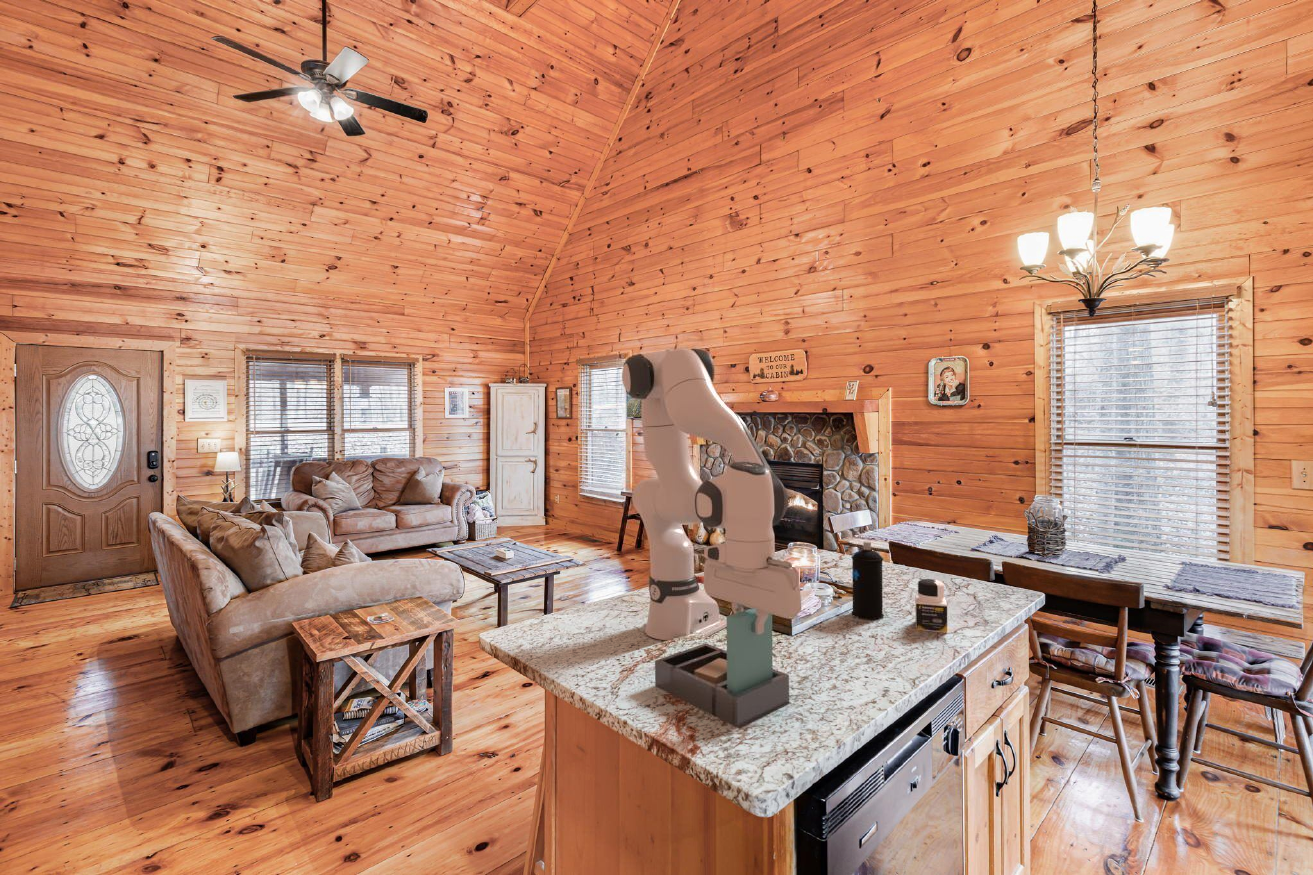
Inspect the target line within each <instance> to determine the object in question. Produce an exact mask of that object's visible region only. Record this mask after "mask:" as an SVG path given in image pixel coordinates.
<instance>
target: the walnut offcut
mask: <svg viewBox="0 0 1313 875" xmlns="http://www.w3.org/2000/svg"><path fill="white" fill-rule="evenodd" d="M694 675H695V676H697V677H699V678H702V679H704V680H706V681H708V682H711V683H713V684H715V685H716V684H719V683H721V682H724V681H726V680H727V660H724V659H721V658H718V659H716V660H714V661H712V662H710V663H708V664H707V665H705V666H703V667H701V668H699V669H697V670H695V671H694Z"/></svg>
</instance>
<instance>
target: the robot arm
mask: <svg viewBox="0 0 1313 875" xmlns="http://www.w3.org/2000/svg"><path fill="white" fill-rule="evenodd" d="M622 367H623V368H622V371H621V372H622V373H621V380H622V384H623V387H624V389H625V392H626V394H627V395H629V396H630V398H633V399H636V400H641V428H642V438H643V439H642V440H643V448H644V455H645V458H646V460H647V462H648V463H649V464H650V465H651V466H652V468H653V469H654V471H655V473H656V475H657V476H654V477H649V478H646V479H642V480H641V481H639V482H638V483H637V484H636V485H635V487H634V488H633V491H632V496H631V498H632V499H631V500H632V505H633V507H634V509H635V510H636V511H637V513H638V514H639V516H640V518H641V520H642V522H643V525H644V529H645V532H646V536H647V540H648V545H649V560H650V563H649V564H650V575H649V576H648V591H649V597H650V598H649V606H648V615H647V620H646V625H645V629H644V633H645V634H646V636H648V637H650V638H653V639H657V640H661V641H662V640H663V641H670V640H673V639H677V638H679V637H682V636H690V635H691V634H693V633H697V634H700V635H702V636H704V637H709V636H712V635H714V634H715V633H717V632H719V631H721V630H723V629H725V628H727V618H725V617H722V616H720V607H719V605H718V603H717V601H716V600H715V599H714V598H716V599H720V600H722V601H726V602H729V603H731V609H732V611H733V612H732V613H733V614H736V613H739V612H742V611H745V609H744V608H745V607H746V608H749V609H752V608H753V609H756V615H758V618H757V620H756V622H753V623H751V627H752V629H751V631H752V632H753V633H756V634H761V633H763V632H764V623H765V621H766V619H767V618H768V616H769V613H770V614H772V616H773V615H774V616H778V617H780V618H784V619H790V618H793V617H796V616H798V615H799V614H800V612H801V611H802V599H801V598H802V595H801V588H800V582H799V571H798V569H797V568H796V567H795V566H794V565H793V564H792V562H790V561H788V560H781V559H778V558H776V555H775V554H776V553H775V552H776V549H775V547H776V546H775V545H776V544H775V532H774V528H773V527H775V526H776V525H778V523H779V522H780V521H782V518H784V516H785V514H786V512H787V510H788V507H789V494H788V491H787V490H786V487H785V486H784V483H782V481H781V480H780V479H779V477H778V476H777V475H776V474H775V473H774V472H773V470H772V469H771V467H770V465H769V463H768V462H767V460H766V458H765V457H764V455H763V453H762V451H761V449H760V448H759V446H758V444H757V442H756V441H755V439H754V437H753V436H752V433H751V431H750V429H749V428H748V427H747V425H746V423H745V422H744V421H743V419H742V418H741V416H740V415H739V414H737V412H735V411H733V410H732V409H731V408H730V407H729V406H728V405H727V404H726V403H725V402H724V401H723V400H722V399H721V397H720V395H719V393H717V390H716V389H715V386H714V379H715V365H714V361H713V358H712V356H711V354H710V353H709V352H708V350H704V349H702V348H690V349H688V348H677V349H675V348H674V349H666V350H659V351H654V352H649V353H644V354H642V353H637V354H634V355H631V356H628V357H627V358H626V359H625V361H624V363H623V366H622ZM688 435H689V436H692V437H695V438H697V437H698V438H700V439H703V440H706V441H710V442H713V443H714V444H715V443H716V444H717V445H719V446H721V447H723V448H724V449H726V450H727V451H728V452H729V453H730V454H731V456H732V458H733V460H734V462H732V463H730V464H729V465H727V467H726V469H725V472H723V473H722V474H720V475H717V476H715V477H713V478H711V479H706V480H704V481H702V479H701V478H700V476H699V474H698V472H697V470H696V467H695V465H694V462H693V460H692V457H691V452H690V447H689V439H688ZM698 524H703V525H705V526H706V527H708V528H712V529H725V534H724V541H723V542H720V543H717V544H714V545H710V546H706V547H704V549H703V550H704V551H703V553H704V558H705V559H706V560H705V562H704V566H703V575H701V574H699V575H696V574H695V561H694V560H695V559H694V558H695V557H694V556H695V555H694V551H695V550H694V545H693V542H692V541H691V539H690V538H689V537H688V536H687V534H686V532H685V530H684V527H683V525H684V526H687V525H688V526H689V525H698ZM699 584H701V585H703V589H704V590H702V589H701V588H700V585H699ZM712 597H713V598H712Z"/></svg>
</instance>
